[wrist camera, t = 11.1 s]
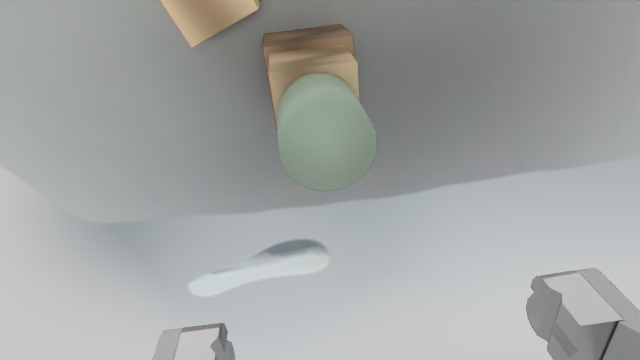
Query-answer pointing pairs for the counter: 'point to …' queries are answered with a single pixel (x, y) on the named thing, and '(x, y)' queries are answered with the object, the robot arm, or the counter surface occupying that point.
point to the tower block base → (305, 41)
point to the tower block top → (310, 67)
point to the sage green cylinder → (324, 133)
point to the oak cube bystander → (207, 16)
